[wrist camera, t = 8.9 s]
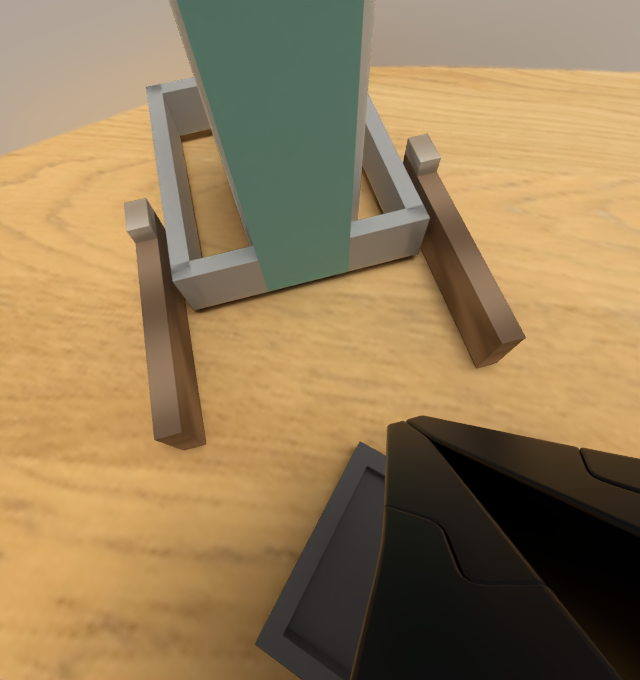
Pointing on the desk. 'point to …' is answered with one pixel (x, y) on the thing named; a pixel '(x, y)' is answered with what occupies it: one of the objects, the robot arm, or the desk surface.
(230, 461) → the desk surface
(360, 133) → the milk carton
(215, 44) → the tray
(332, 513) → the tray
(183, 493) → the desk surface
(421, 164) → the channel
